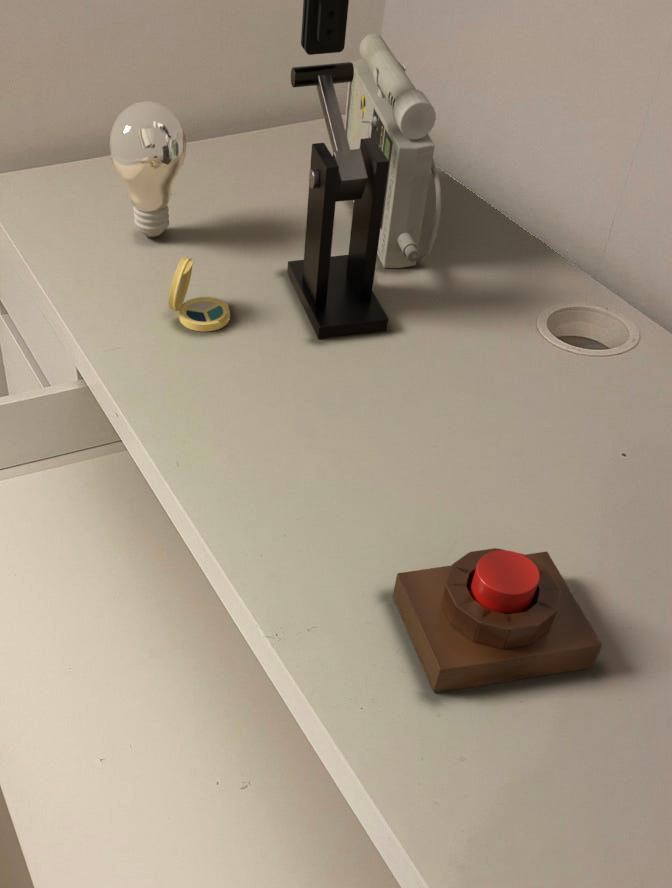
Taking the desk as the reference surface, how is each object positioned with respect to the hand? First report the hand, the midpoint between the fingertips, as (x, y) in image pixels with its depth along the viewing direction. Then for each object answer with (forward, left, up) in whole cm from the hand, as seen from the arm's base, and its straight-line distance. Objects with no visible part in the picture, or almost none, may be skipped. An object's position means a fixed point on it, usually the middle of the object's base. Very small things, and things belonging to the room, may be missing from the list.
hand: (322, 49), depth 79 cm
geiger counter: (-9, -2, -17) cm, 19 cm away
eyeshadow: (+12, +9, -17) cm, 23 cm away
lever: (0, +4, -5) cm, 7 cm away
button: (+1, +48, -14) cm, 50 cm away
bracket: (0, +9, -17) cm, 19 cm away
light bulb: (+14, -6, -17) cm, 23 cm away
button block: (+1, +48, -17) cm, 51 cm away
